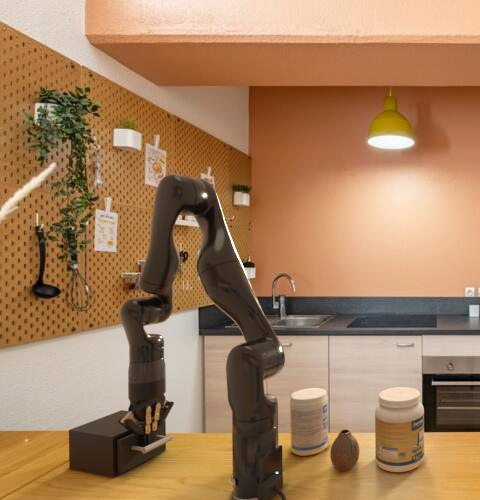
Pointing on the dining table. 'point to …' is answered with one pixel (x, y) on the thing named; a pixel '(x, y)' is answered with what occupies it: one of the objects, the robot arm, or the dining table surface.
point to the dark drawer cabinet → (96, 445)
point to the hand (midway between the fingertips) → (148, 446)
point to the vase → (344, 451)
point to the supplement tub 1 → (309, 421)
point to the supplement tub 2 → (399, 429)
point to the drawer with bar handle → (139, 449)
